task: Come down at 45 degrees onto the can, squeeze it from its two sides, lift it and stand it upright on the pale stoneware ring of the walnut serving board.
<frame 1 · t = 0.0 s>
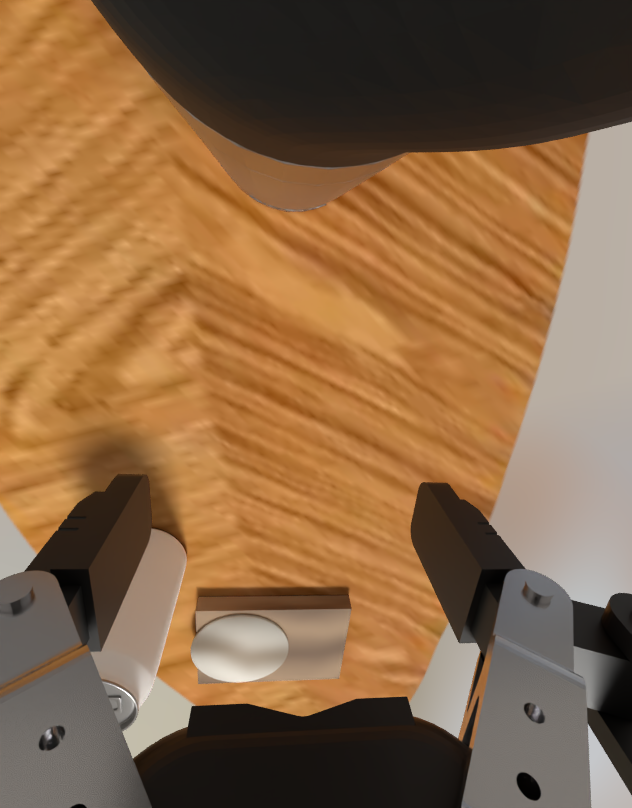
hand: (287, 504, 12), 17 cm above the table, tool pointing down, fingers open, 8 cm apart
board: (272, 632, 39), on the table
can: (149, 552, 34), on the table
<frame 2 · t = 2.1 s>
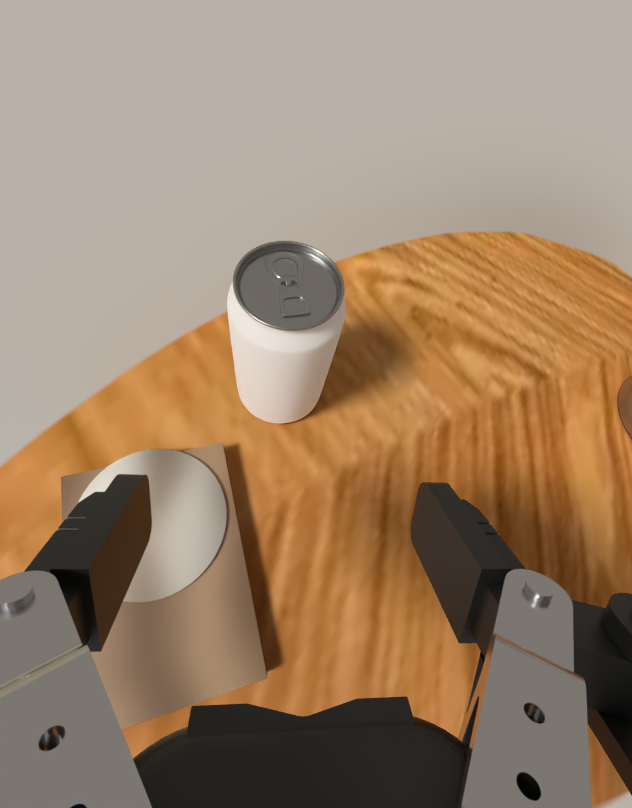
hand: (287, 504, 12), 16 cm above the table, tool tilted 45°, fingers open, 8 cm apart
board: (163, 571, 24), on the table
can: (279, 388, 31), on the table
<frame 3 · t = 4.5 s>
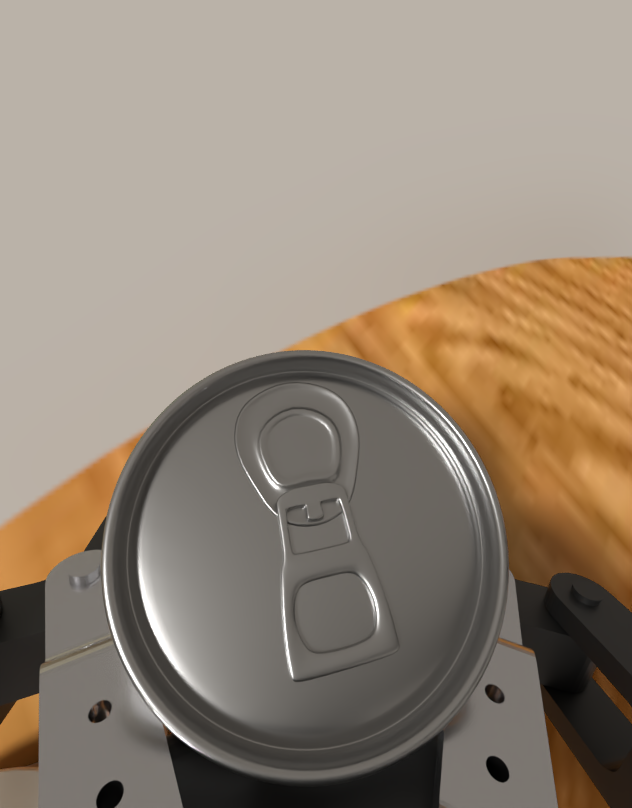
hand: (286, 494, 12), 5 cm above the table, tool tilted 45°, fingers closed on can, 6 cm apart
can: (278, 559, 16), on the table, touching gripper
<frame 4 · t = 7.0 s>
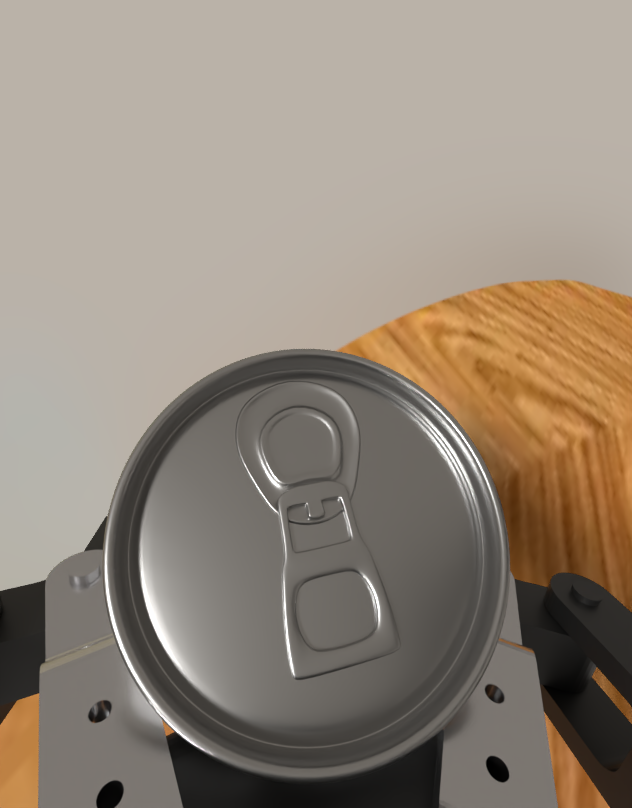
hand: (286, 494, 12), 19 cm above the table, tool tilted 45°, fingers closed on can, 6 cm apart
can: (279, 558, 16), point 13 cm above the table, touching gripper
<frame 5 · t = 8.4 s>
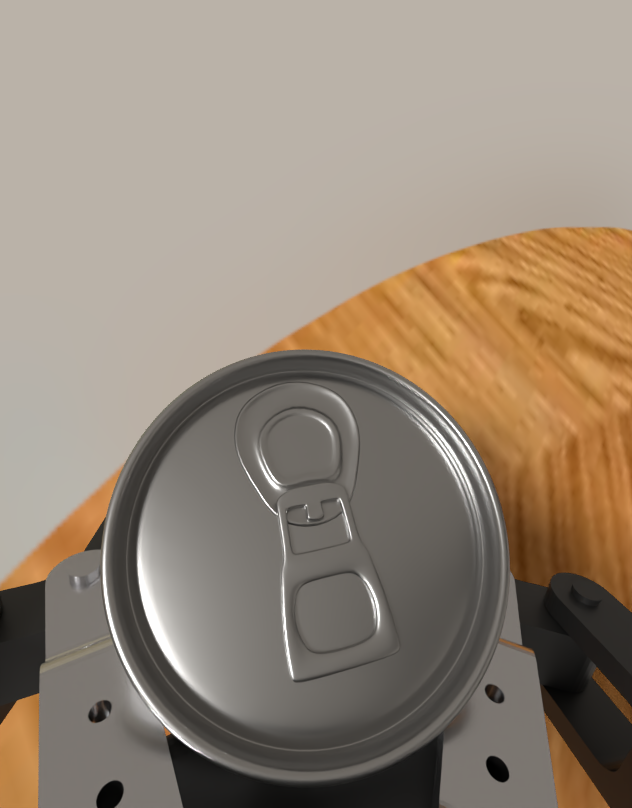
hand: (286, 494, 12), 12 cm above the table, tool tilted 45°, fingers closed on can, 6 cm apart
can: (278, 559, 16), point 6 cm above the table, touching gripper
when the fingers open (8 cm above the table, at t = 9.8 s): can stays where it is, resting on board.
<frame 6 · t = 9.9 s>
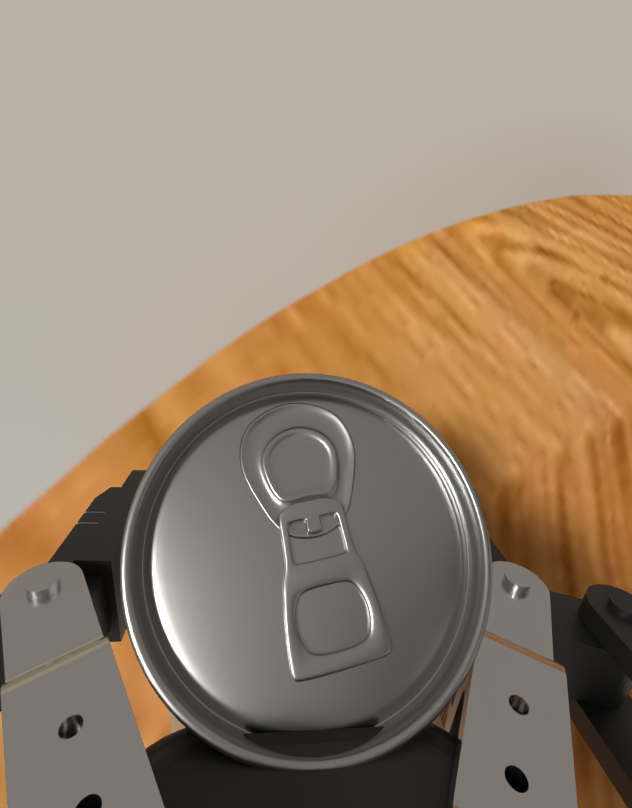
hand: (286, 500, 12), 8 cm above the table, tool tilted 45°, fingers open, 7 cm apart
can: (279, 563, 17), point 2 cm above the table, touching board
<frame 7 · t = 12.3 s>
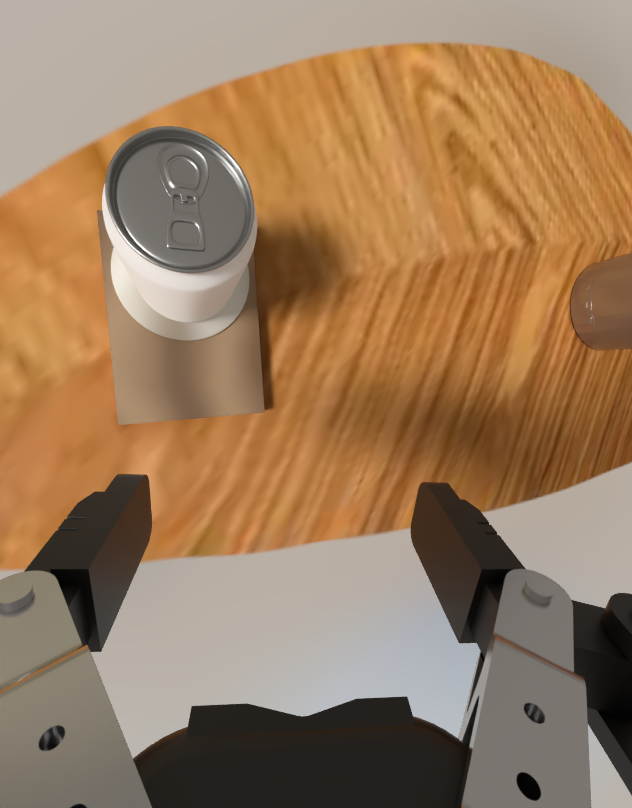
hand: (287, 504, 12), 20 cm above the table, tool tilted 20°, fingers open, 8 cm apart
board: (187, 322, 29), on the table
can: (185, 276, 27), point 2 cm above the table, touching board
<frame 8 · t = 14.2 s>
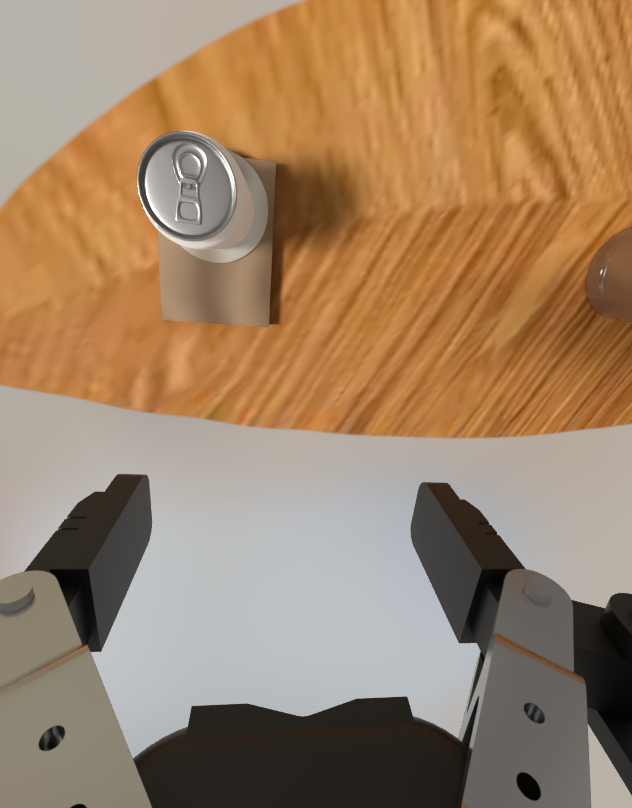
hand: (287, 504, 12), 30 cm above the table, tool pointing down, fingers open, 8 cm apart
board: (218, 245, 36), on the table
can: (217, 209, 34), point 2 cm above the table, touching board
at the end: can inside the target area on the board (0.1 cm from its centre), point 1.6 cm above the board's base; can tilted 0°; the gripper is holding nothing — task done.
